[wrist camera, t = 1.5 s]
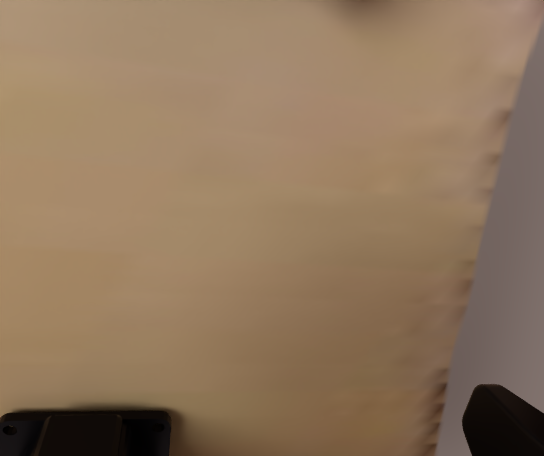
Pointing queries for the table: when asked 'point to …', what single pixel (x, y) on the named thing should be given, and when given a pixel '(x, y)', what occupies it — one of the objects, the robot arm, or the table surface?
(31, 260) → the table surface
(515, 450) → the robot arm
